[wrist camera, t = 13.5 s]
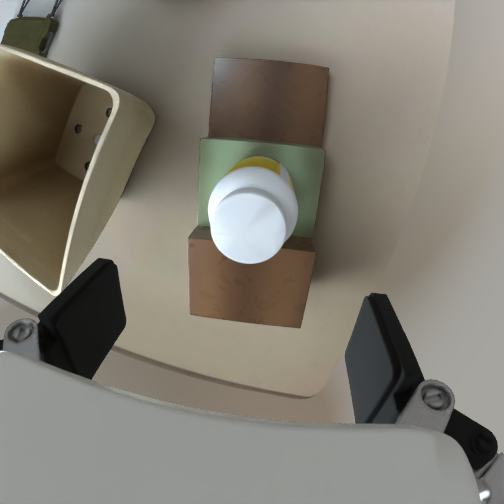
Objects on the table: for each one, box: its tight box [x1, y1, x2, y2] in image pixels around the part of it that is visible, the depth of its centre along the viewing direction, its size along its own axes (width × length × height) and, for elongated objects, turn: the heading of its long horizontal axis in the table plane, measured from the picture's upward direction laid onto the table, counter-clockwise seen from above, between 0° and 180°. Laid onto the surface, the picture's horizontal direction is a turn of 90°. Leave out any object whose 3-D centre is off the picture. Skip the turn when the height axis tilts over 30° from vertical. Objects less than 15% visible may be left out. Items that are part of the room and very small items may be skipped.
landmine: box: [1, 0, 63, 58], centre depth 23 cm, size 14×3×15 cm
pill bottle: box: [208, 155, 298, 264], centre depth 23 cm, size 6×6×12 cm
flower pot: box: [0, 44, 155, 296], centre depth 25 cm, size 19×19×17 cm
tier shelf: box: [188, 58, 329, 328], centre depth 29 cm, size 12×27×9 cm, turn 175°
